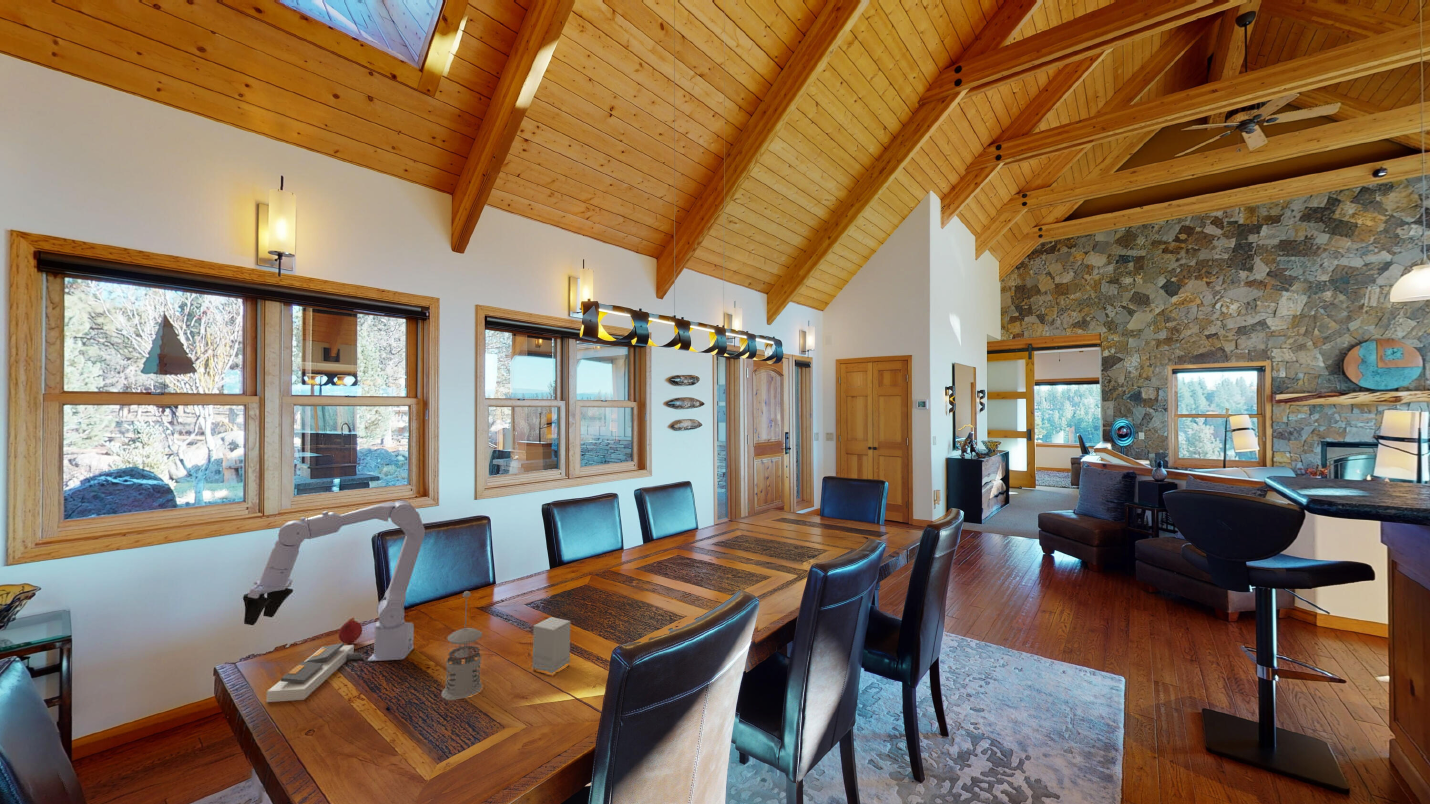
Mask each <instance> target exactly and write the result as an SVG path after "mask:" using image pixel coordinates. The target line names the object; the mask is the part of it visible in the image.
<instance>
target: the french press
mask: <svg viewBox="0 0 1430 804" xmlns="http://www.w3.org/2000/svg"><path fill="white" fill-rule="evenodd" d="M471 595H472V594H471V592H470V591H468V590H466V591H464V592H462V598H465V611H464V612H465V615H464V616H465V618H464V628H460V629H458V630H455V631H453V632H451V634H449V635H447V638H446V639H447V640H448V642H449V643H451V644H453V645H458V647H457V648H454V649H452V650H451V651H449V653H448V656H449V657H448V658H447V660H446V669H445V670H446V675H445V688H443V690H442V691H441V693H442V694H440V695H441V697H442V698H443V699H444V698H445V699H444V700H446V701H454V700H455V699H460V698H466V697H468V696H471V695H474V694H476V693H478V692H479V691H480V690H481V688H482V684H483V683H482V681H481V677H480V676H481V663H482V661H481V660H482V659H481V657H482V655H481V653H480V648H479V647H477V646H475V645H473V646H472V645H468V644H470V643H473V642H476V641H478V640H479V639H481V638H482V636H483V632H482V631H481V630H479V629H476V628H472V627H467V609H468V597H471ZM461 645H463V646H461ZM475 658H478V659H475ZM462 660H464V664H462ZM481 683H482V684H481ZM455 701H456V700H455Z"/></svg>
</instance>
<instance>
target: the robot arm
mask: <svg viewBox="0 0 1430 804" xmlns="http://www.w3.org/2000/svg"><path fill="white" fill-rule="evenodd" d="M299 519H300V520H290V521H287V522H285V523H284V524H283V525H281V527H280V528H279V530H278V536H277V537H278V538H277V540H276V541H275V543H274V547H273V548H272V549H271V552H270V555H269V557H268V560H267V562H266V565H265V567H264V571H263V572H262V575H261V577H260V579H259V580H255V581H253V585H255V586H254V587H252V588H250V590H249V592H248V593H245V594H243V597H242V600H243V604H244V621H243V624H244V625H247V626H254V625H256V623H257V621H258V620H259V618H260V617H261V614H262V612H263V614H262V615H263V617H268V618H273V617H274V616H275V615H276V613H277V612H278V610H279V609H280V607H281V606H282V604H283V603H284V602H285V600H286V599H287V598H288V597H289V596H290V595H291V594H292V593H293V592H294V589H293V588H290V587H291V586H292V582H293V579H291V577H290V576H291V574H292V571H293V569H294V565H295V563H296V561H297V558H298V556H299V554H300V550H299V549H300V548H301V545H302V543H303V542H304V541H305V540H312V539H315V538H319V537H320V538H321V537H324V536H327V535H331V534H334V533H335V534H336V533H338V532H339V531H340V530H341V528H342V527H345V526H348V525H353V524H357V523H362V522H367V521H371V520H379V521H383V522H388V521H389V519H390V520H391V522H392V524H393V525H395V526H396V527H397V528H399V529H401V530H402V532H403V533H404V534H405V535H404V536H405V537H404V539H403V543H402V545H401V549H400V552H399V555H398V557H397V561H396V564H395V567H394V570H393V572H392V573H393V574H392V576H391V579H390V582H389V585H388V588H387V589H386V590H385V592H384V596H383V598H382V599H381V600H380V601H379V602H378V604H377V606H376V612H377V616H378V620H377V621H376V622H375V625H374V626H375V627H374V643H373V644H374V645H373V646H374V648H373V653H372V655H371V656H370V657H369V658H367V662H377V661H379V662H380V661H394V660H404V659H406V657H407V656H408V655H410V653H411V651H412V650H413V649H414V648H415V647H414V633H415V632H414V631H415V627H414V623H413V622H407V621H405V607H404V606H405V603H406V597H407V590H408V587H409V584H410V580H411V578H412V576H413V572H414V569H415V565H416V562H417V559H418V556H419V553H420V550H421V547H422V544H423V541H424V537H425V534H426V529H425V526H424V524H423V522H422V519H421V516H420V513H419V512H418V511H417V510H416V508H415V507H414V506H413V505H412V504H411V503H410V502H409V501H407V500H405V499H399V500H396V501H394V502H393V501H387V502H382V503H379V504H374V505H370V506H367V507H363V508H360V509H356V510H353V511H350V512H346V513H343V514H339V513H336V512H334V511H332V512H329V511H328V510H326V511H322V513H321V514H319V515H315V516H312V517H311V516H310V517H307V518H306V517H305V516H303V517H300V518H299ZM265 595H266V596H265Z"/></svg>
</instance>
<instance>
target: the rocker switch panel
mask: <svg viewBox="0 0 1430 804" xmlns="http://www.w3.org/2000/svg"><path fill="white" fill-rule="evenodd" d="M323 647H324V646H322V647H321V648H319V649H318V650H317V651H315V652H314V653H313V654H312V655H310V656H309V657H307V659H306V660H304V662H306V661H307V660H308V659H309V658H311V657H312V656H313V655H314V654H315V653H317V652H318V651H319V650H320V649H322V648H323ZM354 648H355V645H354V644H351V645H348V644H344V646H343V647H342V648H340V649H339V650H338V651H337V652H336V653H335V654H333V655H332V656H331V657H330V658H329V659H328V660H324V661H319V662H314V663H323V667H321V668H320V669H319V670H318V671H317V672H316V673H315V674H313V675H312V676H311V677H310V678H309V679H308V680H306V681H305V682H304V683H293V682H282V681H281V680H280V681H278V682H276V684H274V685H273V686H271V688H269V689H268V690H267V691H266V702H265V703H275V702H277V703H278V702H289V701H304V700H305V699H306V698H308V696H310V695H311V694H312V693H313V692H314V691H315V690H316V689H318V687H320V686H321V685H322V684H323V683H324V682H325V681H326V680H327V679H329V677H331V675H332V674H334V673H335V672H336V671H337V670H339V668H341V666H342V665H344V663H346V662H347V661H352V660H361V659H362V658H363V652H354V651H355V650H354Z"/></svg>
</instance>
